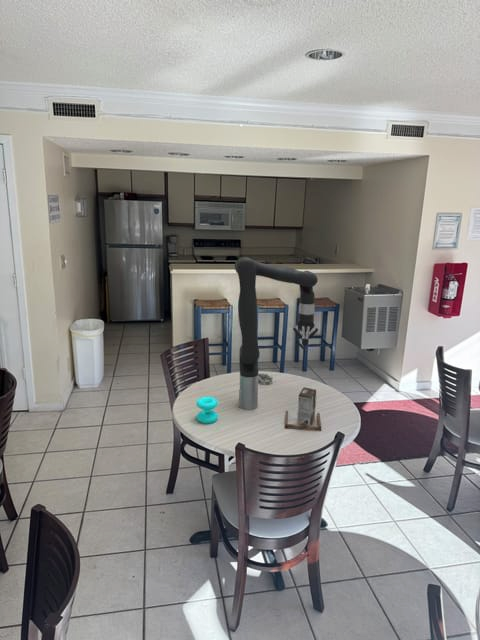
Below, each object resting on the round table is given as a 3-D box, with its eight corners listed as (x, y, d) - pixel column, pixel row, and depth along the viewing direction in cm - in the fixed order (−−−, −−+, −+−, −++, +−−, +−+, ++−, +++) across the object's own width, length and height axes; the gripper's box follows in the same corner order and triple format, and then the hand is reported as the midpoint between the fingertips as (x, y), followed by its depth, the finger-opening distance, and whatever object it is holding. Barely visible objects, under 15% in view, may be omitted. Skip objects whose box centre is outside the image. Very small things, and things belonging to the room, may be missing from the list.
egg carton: (273, 384, 249) (273, 378, 248) (260, 386, 247) (260, 379, 246) (268, 377, 259) (268, 371, 258) (255, 378, 257) (255, 372, 256)
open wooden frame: (284, 428, 200) (285, 424, 200) (285, 414, 214) (285, 410, 213) (321, 430, 198) (321, 427, 198) (319, 416, 212) (319, 413, 211)
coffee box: (301, 417, 210) (303, 386, 206) (315, 420, 208) (316, 389, 204) (296, 426, 202) (298, 394, 198) (310, 429, 200) (312, 396, 195)
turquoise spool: (192, 401, 203) (204, 393, 212) (192, 421, 206) (204, 412, 214) (210, 406, 198) (221, 398, 207) (210, 426, 201) (221, 417, 209)
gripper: (292, 313, 211) (291, 347, 216) (320, 314, 210) (318, 348, 214) (292, 309, 219) (291, 342, 223) (319, 310, 217) (317, 344, 222)
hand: (304, 345), depth 219 cm, fingers closed
